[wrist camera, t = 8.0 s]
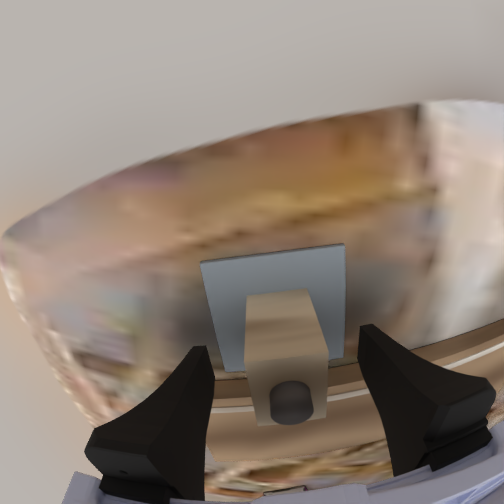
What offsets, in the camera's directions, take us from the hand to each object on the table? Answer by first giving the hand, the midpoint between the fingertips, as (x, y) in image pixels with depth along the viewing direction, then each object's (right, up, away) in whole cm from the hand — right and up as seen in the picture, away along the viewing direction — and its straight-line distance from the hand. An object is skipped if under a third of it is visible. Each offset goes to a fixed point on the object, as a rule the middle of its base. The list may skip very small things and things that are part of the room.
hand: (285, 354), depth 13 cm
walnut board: (+8, -6, +5) cm, 11 cm away
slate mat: (0, +1, +2) cm, 3 cm away
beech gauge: (0, +1, +2) cm, 2 cm away
